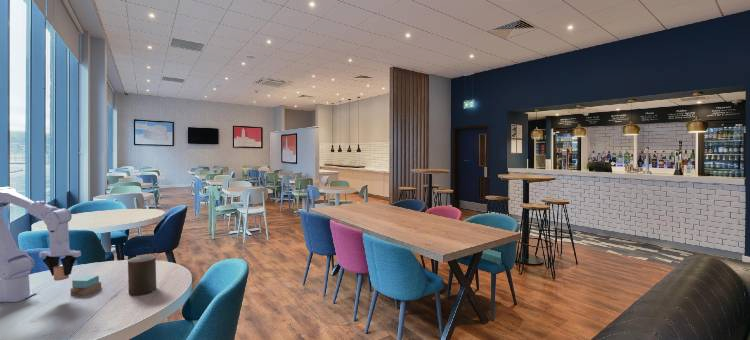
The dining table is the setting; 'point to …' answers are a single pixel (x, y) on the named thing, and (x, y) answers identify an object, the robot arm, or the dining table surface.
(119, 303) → the dining table surface
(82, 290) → the walnut base slab
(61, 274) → the terracotta cylinder
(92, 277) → the teal top slab
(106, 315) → the dining table surface
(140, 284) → the pillar candle
